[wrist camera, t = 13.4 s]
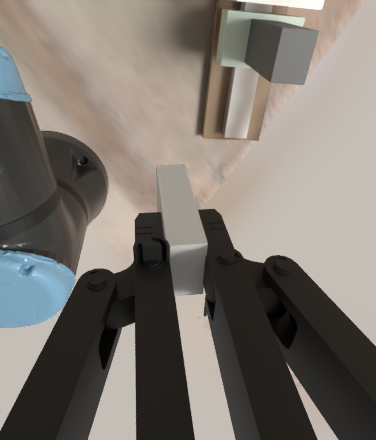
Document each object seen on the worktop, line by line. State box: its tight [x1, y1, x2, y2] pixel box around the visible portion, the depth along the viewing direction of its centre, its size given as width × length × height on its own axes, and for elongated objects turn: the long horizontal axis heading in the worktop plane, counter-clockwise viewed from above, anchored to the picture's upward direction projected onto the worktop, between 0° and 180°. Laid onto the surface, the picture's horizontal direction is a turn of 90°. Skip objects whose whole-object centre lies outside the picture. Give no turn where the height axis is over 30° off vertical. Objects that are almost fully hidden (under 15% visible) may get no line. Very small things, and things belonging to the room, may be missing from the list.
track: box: [202, 0, 288, 141], centre depth 38 cm, size 8×22×4 cm, turn 175°
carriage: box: [216, 9, 319, 85], centre depth 31 cm, size 8×5×13 cm, turn 85°
